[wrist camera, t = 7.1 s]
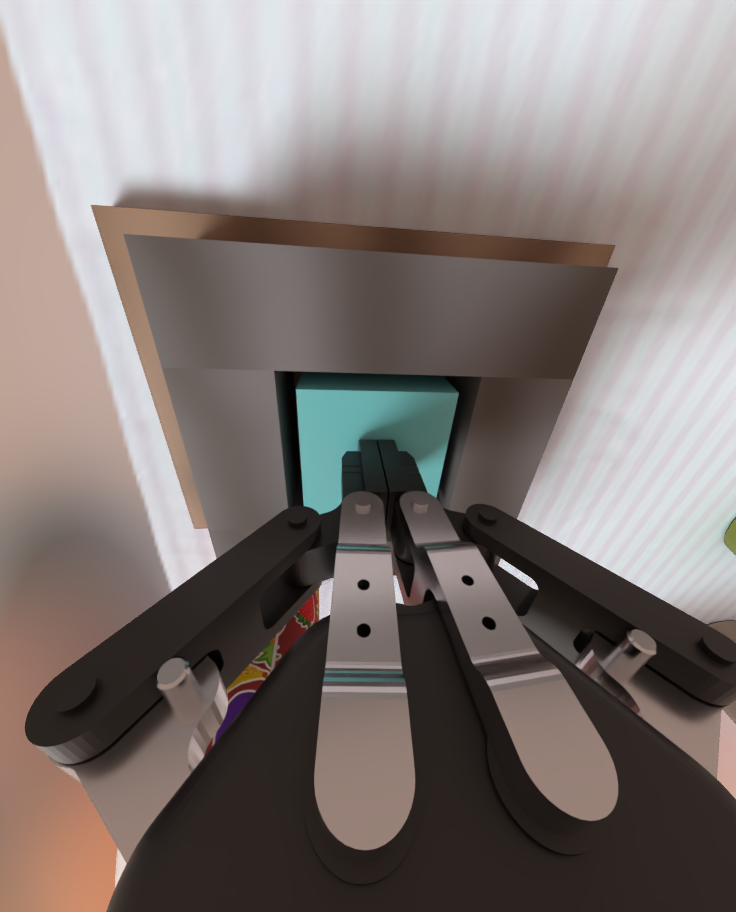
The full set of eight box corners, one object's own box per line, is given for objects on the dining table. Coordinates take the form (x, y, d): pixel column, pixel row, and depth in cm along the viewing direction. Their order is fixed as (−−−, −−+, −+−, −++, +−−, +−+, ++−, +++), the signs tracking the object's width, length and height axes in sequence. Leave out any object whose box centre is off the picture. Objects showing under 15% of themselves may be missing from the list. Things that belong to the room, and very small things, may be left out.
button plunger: (431, 364, 16) (458, 393, 12) (415, 468, 19) (432, 513, 15) (305, 360, 15) (296, 389, 12) (310, 468, 18) (304, 516, 15)
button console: (596, 246, 15) (733, 238, 10) (500, 511, 24) (546, 580, 19) (109, 209, 13) (-44, 173, 8) (200, 516, 22) (158, 596, 17)
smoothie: (227, 514, 22) (-134, 1352, 5) (341, 534, 24) (354, 1185, 7) (216, 587, 26) (-8, 1196, 9) (315, 600, 28) (283, 1118, 11)
